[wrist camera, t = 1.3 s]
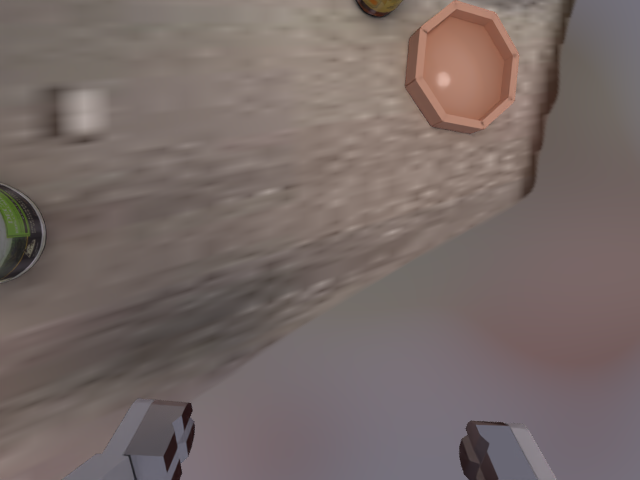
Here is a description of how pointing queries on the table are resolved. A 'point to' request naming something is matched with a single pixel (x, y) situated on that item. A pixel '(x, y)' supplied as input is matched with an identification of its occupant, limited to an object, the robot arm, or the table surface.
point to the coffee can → (19, 233)
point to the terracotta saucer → (462, 68)
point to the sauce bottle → (379, 6)
